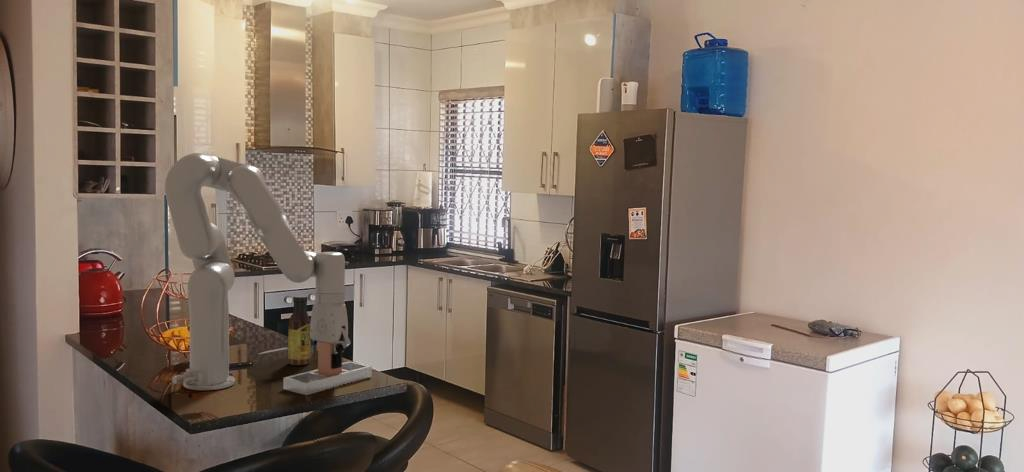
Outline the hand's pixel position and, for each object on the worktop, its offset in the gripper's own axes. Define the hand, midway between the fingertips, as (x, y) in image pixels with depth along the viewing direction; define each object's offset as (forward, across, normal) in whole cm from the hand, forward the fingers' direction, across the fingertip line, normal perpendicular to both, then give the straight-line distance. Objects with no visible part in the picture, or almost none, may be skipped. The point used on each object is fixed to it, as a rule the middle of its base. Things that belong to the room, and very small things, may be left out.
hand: (329, 365), depth 211 cm
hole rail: (+5, 0, 0) cm, 5 cm away
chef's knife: (+5, -41, +17) cm, 44 cm away
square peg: (+3, 0, 0) cm, 3 cm away
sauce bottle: (+5, -22, +9) cm, 24 cm away
